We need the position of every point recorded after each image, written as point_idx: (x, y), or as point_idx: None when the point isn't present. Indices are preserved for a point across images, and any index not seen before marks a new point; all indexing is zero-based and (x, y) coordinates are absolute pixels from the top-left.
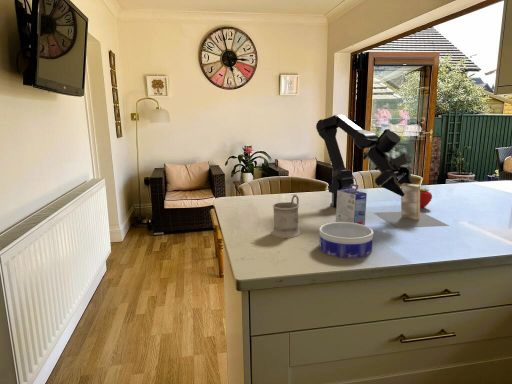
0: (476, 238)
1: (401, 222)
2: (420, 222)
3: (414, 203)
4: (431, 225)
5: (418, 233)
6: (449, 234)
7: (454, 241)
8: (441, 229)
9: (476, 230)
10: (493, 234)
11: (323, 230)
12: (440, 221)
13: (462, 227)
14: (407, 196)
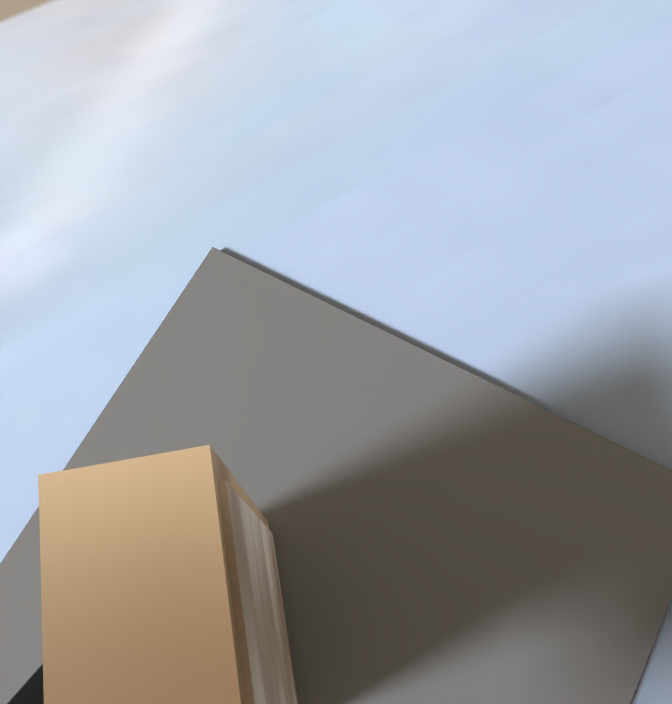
0: (339, 19)
1: (490, 580)
2: (319, 453)
3: (263, 551)
4: (328, 333)
5: (611, 282)
6: (408, 145)
7: (530, 47)
8: (336, 245)
9: (154, 106)
10: (164, 15)
11: None
12: (139, 361)
13: (151, 192)
14: (279, 701)
